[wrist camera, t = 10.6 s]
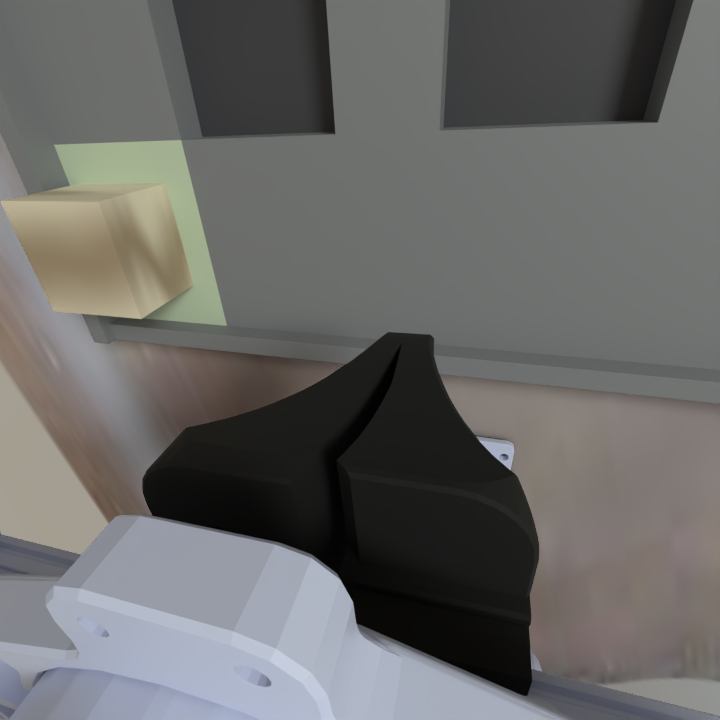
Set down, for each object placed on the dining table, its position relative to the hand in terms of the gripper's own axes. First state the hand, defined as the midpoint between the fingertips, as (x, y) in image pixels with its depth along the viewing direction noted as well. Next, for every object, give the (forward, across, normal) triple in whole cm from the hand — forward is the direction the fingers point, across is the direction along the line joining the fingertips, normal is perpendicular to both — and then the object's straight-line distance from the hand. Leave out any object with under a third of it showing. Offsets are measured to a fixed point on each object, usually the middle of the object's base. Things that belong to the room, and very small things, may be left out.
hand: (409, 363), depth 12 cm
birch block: (+7, +15, -2) cm, 17 cm away
